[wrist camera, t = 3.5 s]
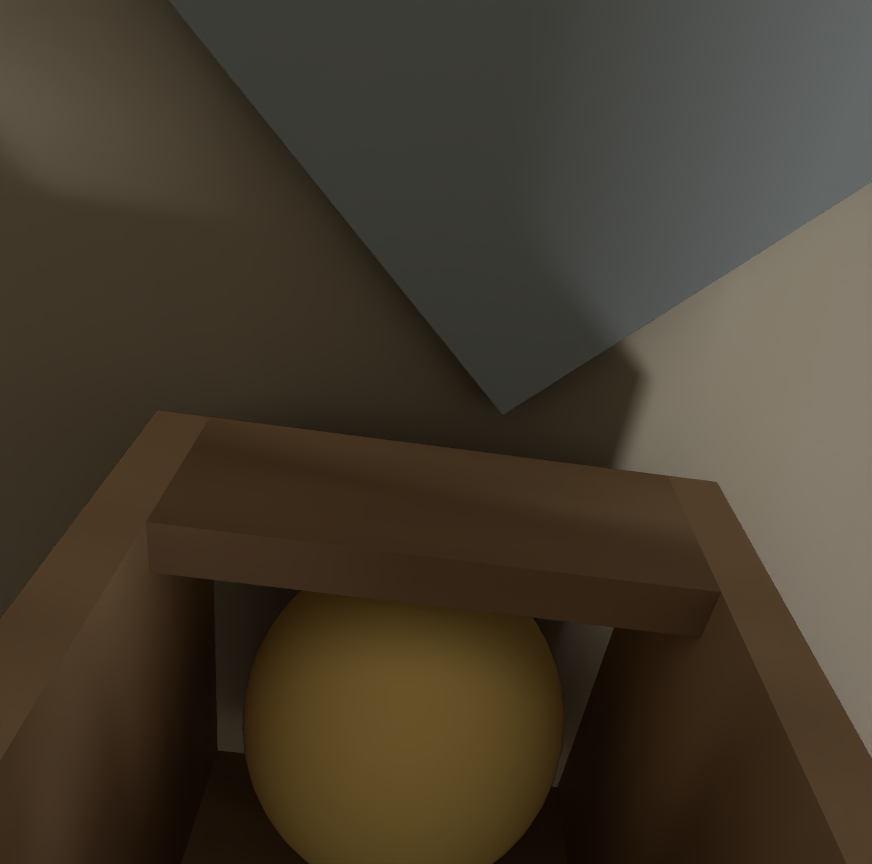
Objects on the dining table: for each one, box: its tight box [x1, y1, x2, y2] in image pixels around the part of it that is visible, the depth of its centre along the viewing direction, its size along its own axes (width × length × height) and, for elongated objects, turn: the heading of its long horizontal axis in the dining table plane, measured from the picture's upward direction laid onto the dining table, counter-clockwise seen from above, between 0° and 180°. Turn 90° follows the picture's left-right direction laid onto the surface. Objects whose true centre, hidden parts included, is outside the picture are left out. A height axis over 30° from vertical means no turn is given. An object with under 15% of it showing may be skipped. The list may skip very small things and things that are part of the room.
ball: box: [242, 590, 564, 864], centre depth 9 cm, size 4×4×4 cm
